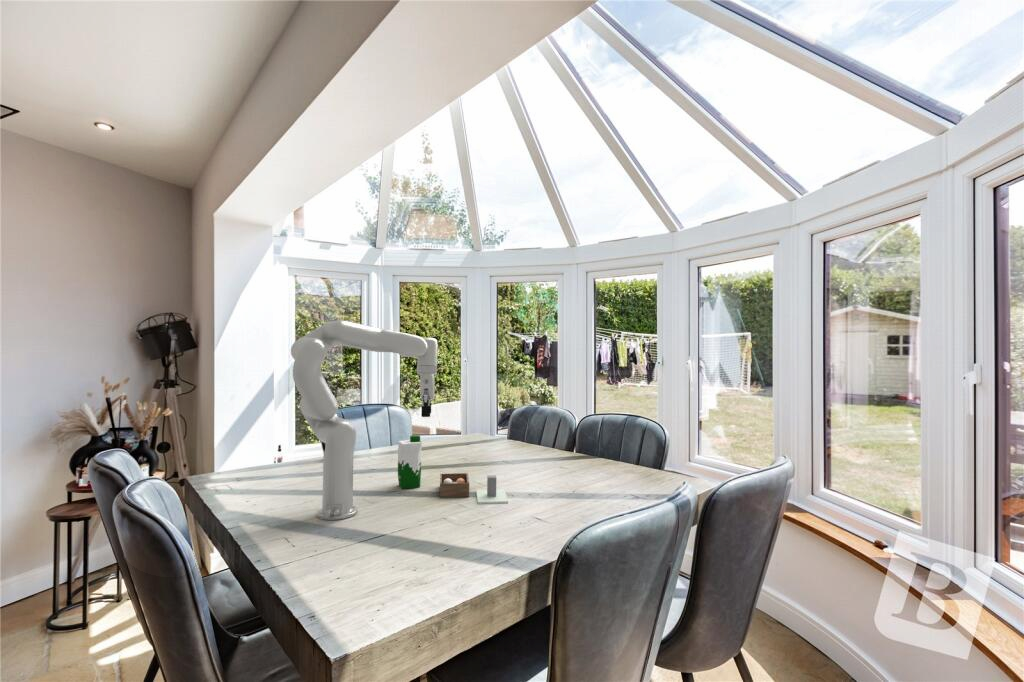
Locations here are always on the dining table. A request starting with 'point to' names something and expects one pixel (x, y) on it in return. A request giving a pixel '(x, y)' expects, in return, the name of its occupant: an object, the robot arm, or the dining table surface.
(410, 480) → the milk carton
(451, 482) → the ball cream
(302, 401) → the robot arm
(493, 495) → the lid
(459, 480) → the ball terracotta
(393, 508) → the dining table surface
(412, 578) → the dining table surface
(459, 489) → the box
